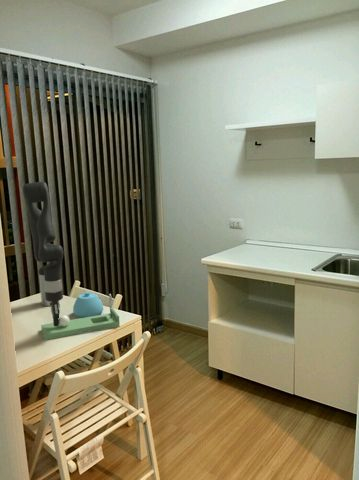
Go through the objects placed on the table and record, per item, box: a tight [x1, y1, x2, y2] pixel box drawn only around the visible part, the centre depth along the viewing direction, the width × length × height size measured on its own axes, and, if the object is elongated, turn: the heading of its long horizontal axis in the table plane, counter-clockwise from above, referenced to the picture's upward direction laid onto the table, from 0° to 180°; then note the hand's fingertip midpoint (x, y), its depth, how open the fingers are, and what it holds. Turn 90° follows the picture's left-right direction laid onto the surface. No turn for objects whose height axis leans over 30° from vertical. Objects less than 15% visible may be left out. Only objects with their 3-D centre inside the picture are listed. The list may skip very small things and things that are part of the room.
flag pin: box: [108, 293, 113, 318], centre depth 194 cm, size 4×1×12 cm, turn 24°
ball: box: [58, 314, 71, 326], centre depth 187 cm, size 5×5×5 cm
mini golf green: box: [40, 307, 120, 341], centre depth 191 cm, size 12×34×5 cm, turn 114°
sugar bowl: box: [72, 291, 104, 319], centre depth 208 cm, size 15×15×12 cm
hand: (56, 325), depth 186 cm, fingers closed
